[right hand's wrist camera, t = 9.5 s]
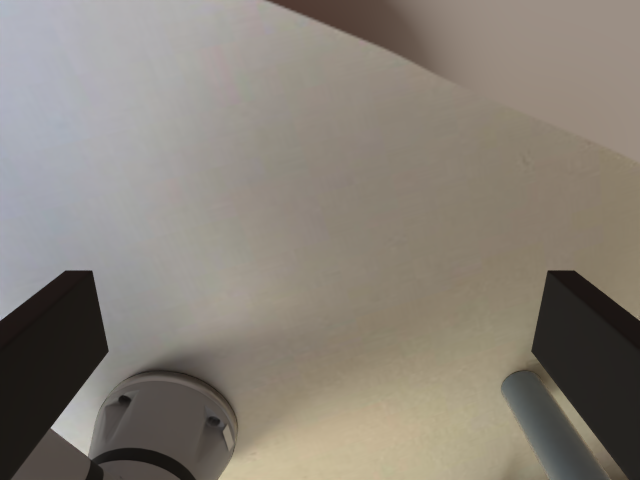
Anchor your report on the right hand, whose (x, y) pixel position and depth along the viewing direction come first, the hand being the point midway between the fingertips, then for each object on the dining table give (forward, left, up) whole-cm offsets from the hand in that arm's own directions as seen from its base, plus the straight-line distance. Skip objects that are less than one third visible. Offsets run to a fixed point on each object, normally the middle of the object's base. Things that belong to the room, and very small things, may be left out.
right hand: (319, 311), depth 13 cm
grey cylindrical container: (-18, -28, -27) cm, 43 cm away
